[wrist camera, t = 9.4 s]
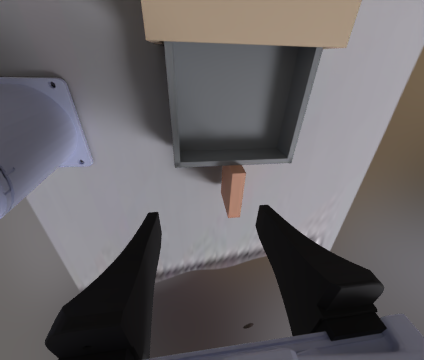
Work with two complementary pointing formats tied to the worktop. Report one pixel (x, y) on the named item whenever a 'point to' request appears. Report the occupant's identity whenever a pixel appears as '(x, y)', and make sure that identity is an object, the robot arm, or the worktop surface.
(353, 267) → the robot arm
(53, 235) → the worktop surface
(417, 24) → the worktop surface
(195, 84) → the tray
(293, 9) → the sleeve
